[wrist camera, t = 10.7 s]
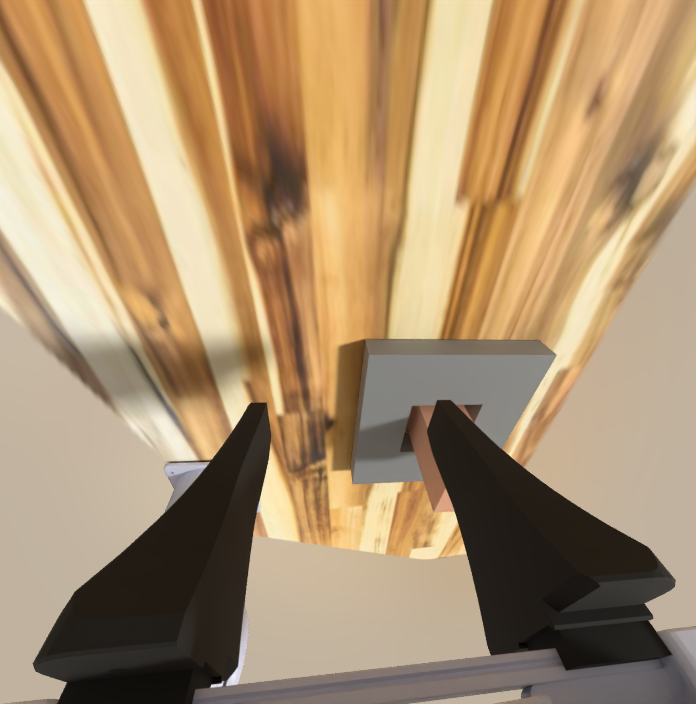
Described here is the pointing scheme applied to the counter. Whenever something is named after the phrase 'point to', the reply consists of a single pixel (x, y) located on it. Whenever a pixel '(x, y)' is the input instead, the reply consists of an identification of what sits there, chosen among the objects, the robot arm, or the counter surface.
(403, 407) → the socket block
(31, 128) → the counter surface
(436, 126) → the counter surface
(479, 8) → the counter surface
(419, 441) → the terracotta peg
